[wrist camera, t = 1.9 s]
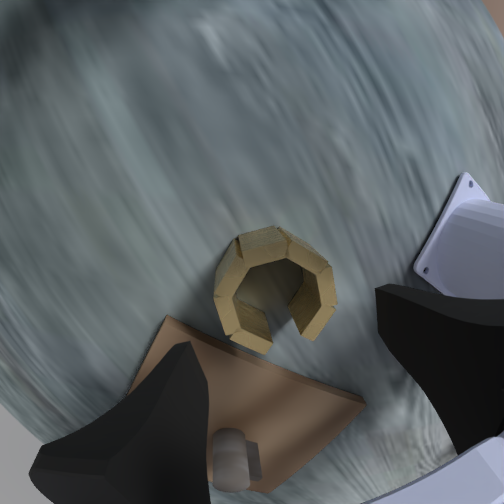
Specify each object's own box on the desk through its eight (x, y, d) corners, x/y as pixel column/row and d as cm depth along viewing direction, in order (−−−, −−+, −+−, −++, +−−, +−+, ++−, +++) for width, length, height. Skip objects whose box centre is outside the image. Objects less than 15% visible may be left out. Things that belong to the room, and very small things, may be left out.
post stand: (362, 396, 21) (389, 445, 15) (267, 485, 23) (274, 529, 18) (166, 314, 17) (147, 369, 12) (108, 435, 20) (92, 482, 15)
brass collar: (206, 243, 17) (201, 262, 13) (305, 217, 17) (324, 229, 13) (233, 329, 18) (235, 362, 15) (322, 304, 18) (341, 332, 15)
